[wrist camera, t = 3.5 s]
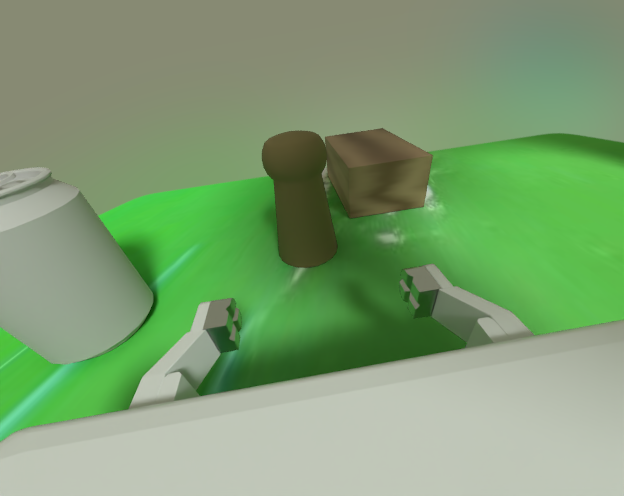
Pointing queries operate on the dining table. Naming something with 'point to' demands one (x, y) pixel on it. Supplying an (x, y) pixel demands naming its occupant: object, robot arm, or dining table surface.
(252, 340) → the dining table surface
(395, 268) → the dining table surface
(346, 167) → the walnut block
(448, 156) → the dining table surface
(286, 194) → the cork
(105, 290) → the can
